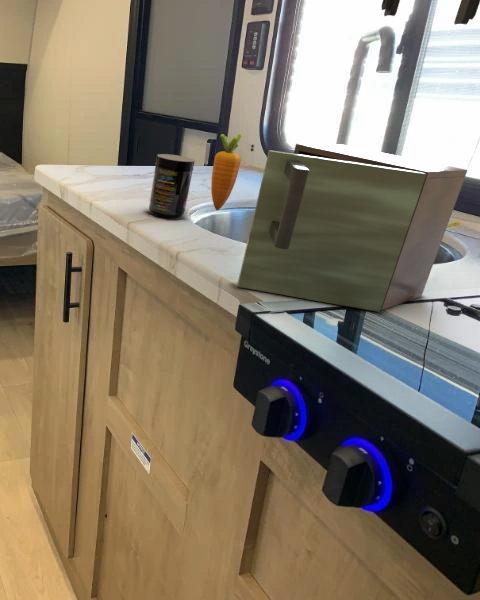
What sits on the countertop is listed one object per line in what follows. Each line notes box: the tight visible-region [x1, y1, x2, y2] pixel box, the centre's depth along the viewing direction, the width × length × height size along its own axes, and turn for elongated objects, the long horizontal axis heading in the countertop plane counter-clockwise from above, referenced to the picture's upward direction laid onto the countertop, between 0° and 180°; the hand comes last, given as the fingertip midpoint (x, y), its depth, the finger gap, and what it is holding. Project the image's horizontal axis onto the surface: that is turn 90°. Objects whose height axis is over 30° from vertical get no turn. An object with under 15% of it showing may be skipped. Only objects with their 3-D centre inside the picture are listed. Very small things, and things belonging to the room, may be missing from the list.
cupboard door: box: [237, 149, 426, 313], centre depth 70 cm, size 8×18×17 cm, turn 79°
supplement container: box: [148, 153, 196, 220], centre depth 108 cm, size 7×7×10 cm
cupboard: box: [293, 143, 468, 311], centre depth 82 cm, size 12×18×18 cm
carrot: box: [210, 133, 243, 211], centre depth 116 cm, size 5×5×15 cm
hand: (424, 20), depth 73 cm, fingers open, 8 cm apart
